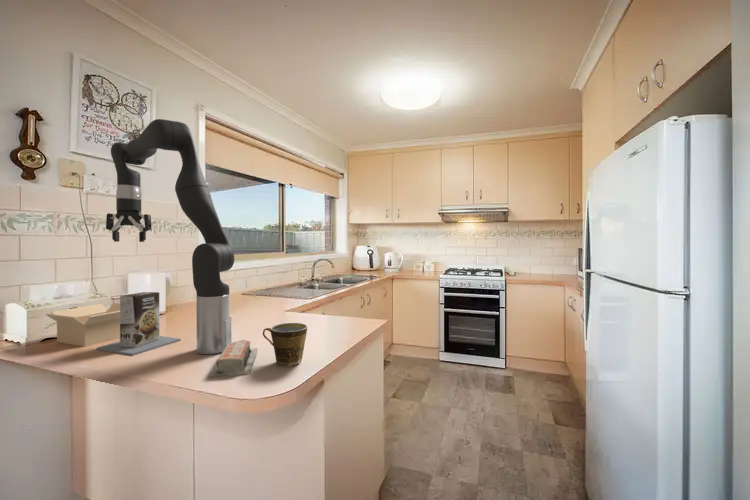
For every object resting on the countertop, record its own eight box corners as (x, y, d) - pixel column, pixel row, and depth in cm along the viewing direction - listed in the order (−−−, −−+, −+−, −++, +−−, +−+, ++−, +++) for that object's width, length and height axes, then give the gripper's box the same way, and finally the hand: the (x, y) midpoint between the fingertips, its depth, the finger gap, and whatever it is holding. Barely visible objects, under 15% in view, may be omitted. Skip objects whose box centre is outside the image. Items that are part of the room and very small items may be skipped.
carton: (147, 332, 121) (146, 305, 121) (80, 350, 102) (80, 318, 101) (110, 327, 128) (109, 302, 128) (40, 343, 108) (40, 313, 108)
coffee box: (136, 348, 102) (136, 296, 102) (119, 346, 103) (118, 295, 103) (160, 339, 111) (160, 291, 111) (144, 338, 112) (143, 291, 112)
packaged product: (250, 357, 84) (208, 360, 82) (250, 376, 84) (208, 379, 82) (257, 337, 102) (222, 339, 99) (258, 352, 102) (223, 355, 99)
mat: (180, 340, 112) (180, 338, 112) (132, 355, 97) (132, 353, 97) (146, 335, 118) (146, 334, 118) (96, 349, 102) (96, 347, 102)
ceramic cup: (312, 357, 96) (312, 323, 96) (298, 370, 87) (298, 332, 86) (271, 354, 99) (271, 321, 99) (253, 366, 89) (253, 330, 89)
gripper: (154, 200, 128) (154, 242, 129) (114, 199, 126) (114, 241, 126) (144, 197, 121) (144, 242, 121) (101, 196, 118) (101, 241, 119)
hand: (129, 241), depth 124 cm, fingers open, 8 cm apart
